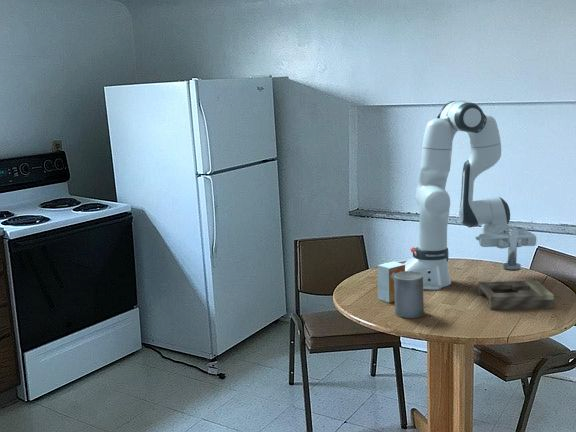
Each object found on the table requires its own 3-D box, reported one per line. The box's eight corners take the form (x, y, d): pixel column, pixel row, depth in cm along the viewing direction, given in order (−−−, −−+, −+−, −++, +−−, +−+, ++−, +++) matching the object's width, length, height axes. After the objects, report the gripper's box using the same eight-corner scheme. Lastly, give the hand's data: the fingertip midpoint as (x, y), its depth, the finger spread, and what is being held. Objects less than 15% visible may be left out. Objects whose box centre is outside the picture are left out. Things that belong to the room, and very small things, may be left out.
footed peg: (505, 271, 226) (507, 230, 224) (500, 266, 232) (502, 226, 229) (522, 270, 226) (524, 229, 223) (517, 266, 232) (519, 226, 229)
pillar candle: (411, 306, 223) (410, 265, 220) (429, 314, 214) (429, 272, 211) (389, 312, 218) (387, 270, 215) (406, 320, 210) (405, 277, 207)
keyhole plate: (490, 309, 216) (491, 297, 215) (478, 294, 233) (478, 282, 232) (553, 308, 215) (553, 295, 214) (536, 292, 232) (536, 280, 231)
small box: (389, 303, 227) (388, 268, 225) (377, 299, 232) (376, 264, 230) (405, 298, 232) (405, 264, 229) (393, 294, 237) (393, 260, 234)
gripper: (474, 228, 240) (484, 237, 226) (528, 227, 239) (542, 235, 226) (473, 245, 241) (483, 254, 228) (528, 243, 240) (541, 252, 227)
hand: (513, 245), depth 227 cm, fingers closed on footed peg, 3 cm apart
